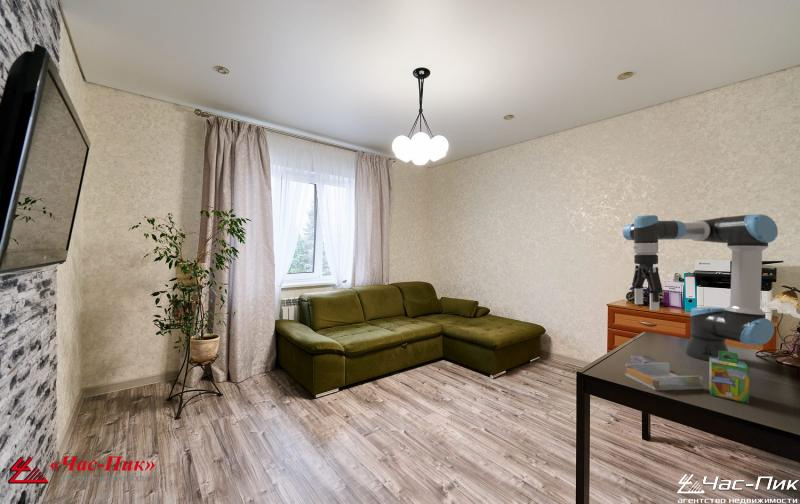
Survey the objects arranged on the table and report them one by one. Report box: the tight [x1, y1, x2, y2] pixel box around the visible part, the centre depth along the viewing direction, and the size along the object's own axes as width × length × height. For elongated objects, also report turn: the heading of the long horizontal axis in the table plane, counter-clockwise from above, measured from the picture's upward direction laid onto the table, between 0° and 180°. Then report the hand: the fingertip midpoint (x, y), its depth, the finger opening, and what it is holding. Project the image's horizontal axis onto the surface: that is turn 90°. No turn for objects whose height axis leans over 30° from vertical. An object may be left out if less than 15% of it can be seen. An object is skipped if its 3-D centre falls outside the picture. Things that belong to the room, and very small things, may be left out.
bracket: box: [624, 362, 704, 391], centre depth 120 cm, size 18×14×4 cm
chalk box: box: [708, 351, 751, 404], centre depth 109 cm, size 9×9×15 cm
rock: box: [630, 354, 665, 364], centre depth 134 cm, size 8×11×5 cm
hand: (646, 307), depth 126 cm, fingers open, 13 cm apart
